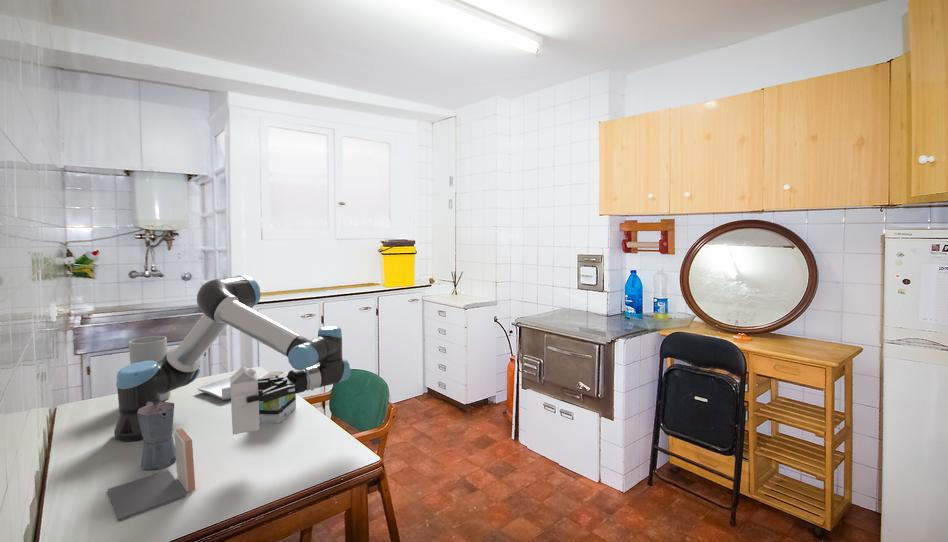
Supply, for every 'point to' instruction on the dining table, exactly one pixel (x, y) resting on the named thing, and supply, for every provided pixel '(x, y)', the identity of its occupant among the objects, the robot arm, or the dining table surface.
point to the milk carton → (248, 414)
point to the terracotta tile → (184, 459)
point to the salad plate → (216, 388)
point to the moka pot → (157, 434)
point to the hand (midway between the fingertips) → (227, 397)
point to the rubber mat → (144, 494)
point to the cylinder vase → (149, 352)
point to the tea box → (276, 405)
